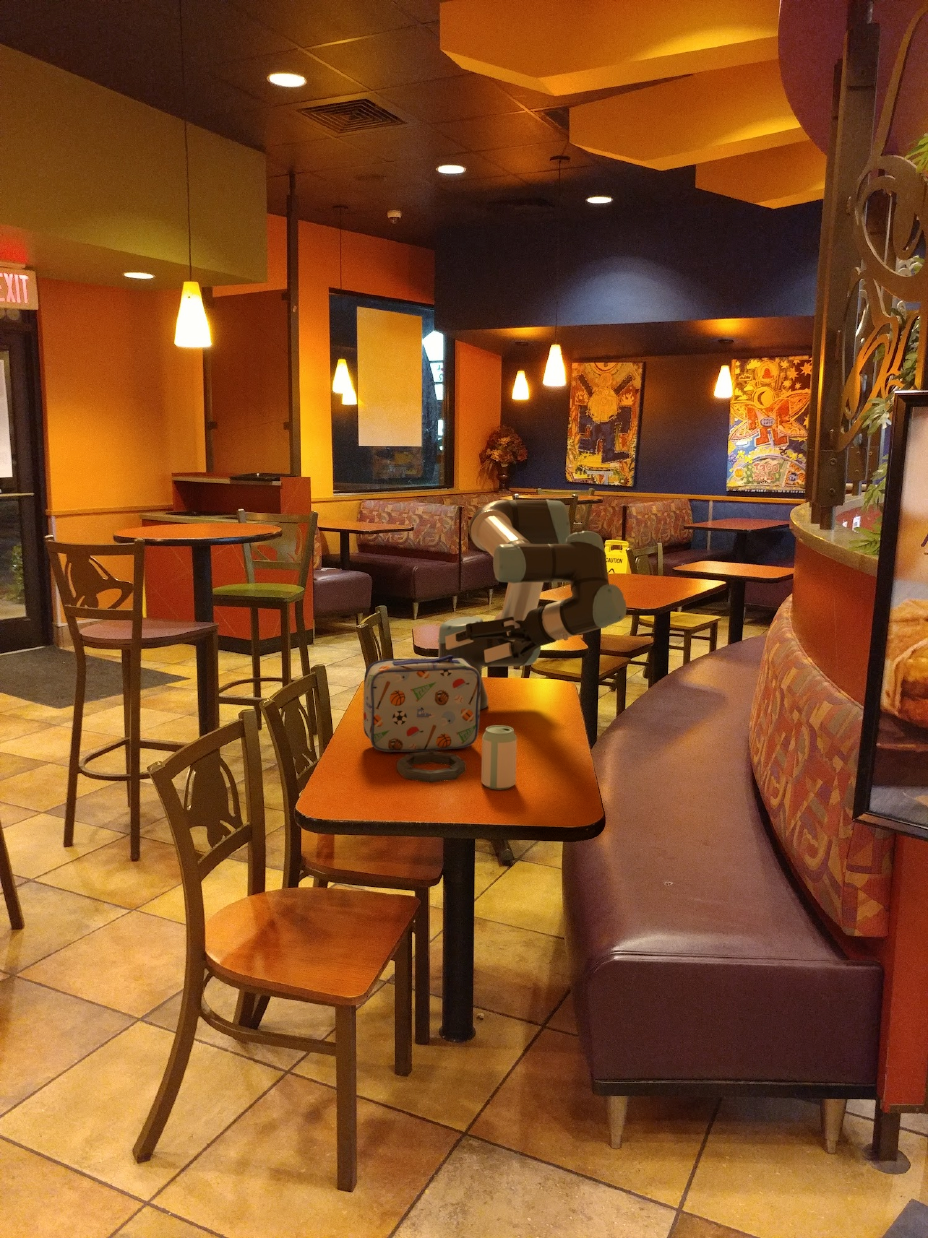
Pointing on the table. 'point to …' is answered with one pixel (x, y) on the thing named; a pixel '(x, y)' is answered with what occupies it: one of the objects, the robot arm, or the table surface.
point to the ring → (431, 775)
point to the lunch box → (421, 704)
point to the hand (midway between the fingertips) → (466, 650)
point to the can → (499, 757)
